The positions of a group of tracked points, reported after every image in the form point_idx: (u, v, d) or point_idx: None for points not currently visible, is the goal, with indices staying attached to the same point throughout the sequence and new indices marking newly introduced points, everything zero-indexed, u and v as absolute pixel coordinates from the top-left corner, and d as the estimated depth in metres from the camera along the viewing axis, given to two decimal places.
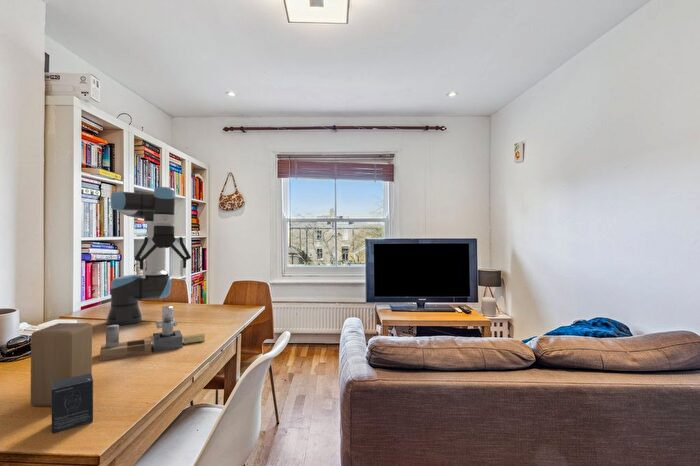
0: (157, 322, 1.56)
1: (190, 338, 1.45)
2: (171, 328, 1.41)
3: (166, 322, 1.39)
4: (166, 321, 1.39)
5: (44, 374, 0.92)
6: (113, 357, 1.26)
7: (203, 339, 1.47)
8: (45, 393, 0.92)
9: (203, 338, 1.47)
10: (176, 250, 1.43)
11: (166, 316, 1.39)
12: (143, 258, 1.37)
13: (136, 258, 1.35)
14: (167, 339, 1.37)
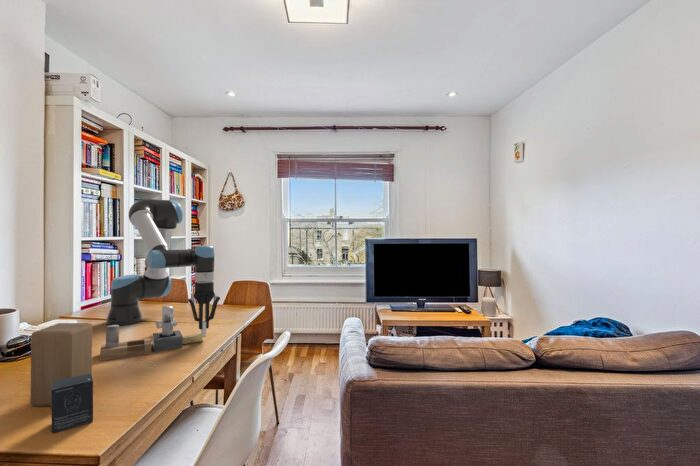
0: (157, 322, 1.56)
1: (188, 338, 1.44)
2: (171, 328, 1.41)
3: (166, 322, 1.39)
4: (166, 321, 1.39)
5: (44, 374, 0.92)
6: (113, 357, 1.26)
7: (201, 339, 1.47)
8: (45, 393, 0.92)
9: (201, 338, 1.47)
10: (207, 308, 1.48)
11: (166, 316, 1.39)
12: (201, 318, 1.47)
13: (196, 319, 1.46)
14: (167, 339, 1.37)
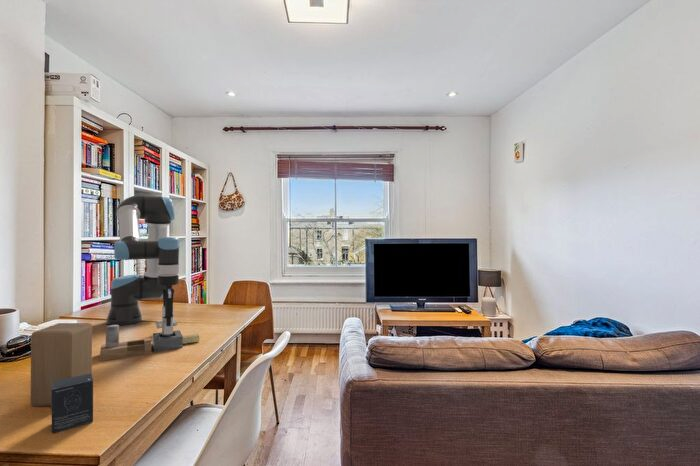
0: (157, 322, 1.56)
1: (184, 339, 1.43)
2: None
3: None
4: None
5: (44, 374, 0.92)
6: (113, 357, 1.26)
7: (197, 340, 1.46)
8: (45, 393, 0.92)
9: (197, 339, 1.46)
10: (165, 304, 1.38)
11: None
12: None
13: None
14: (167, 339, 1.37)
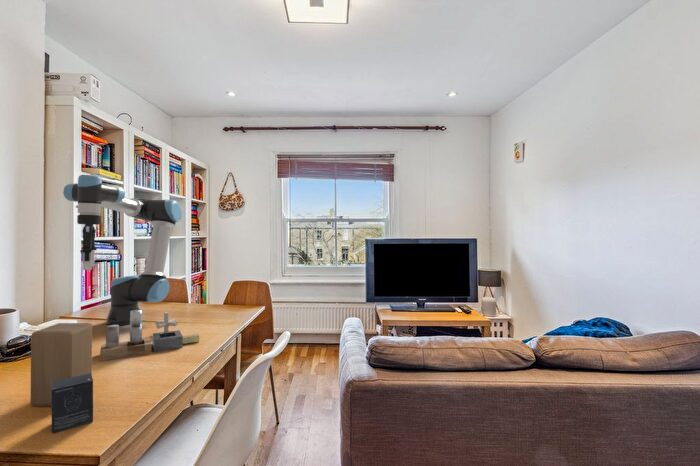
0: (157, 322, 1.56)
1: (184, 339, 1.43)
2: (140, 333, 1.33)
3: (134, 326, 1.32)
4: (134, 326, 1.32)
5: (44, 374, 0.92)
6: (113, 357, 1.26)
7: (197, 340, 1.46)
8: (45, 393, 0.92)
9: (197, 339, 1.46)
10: None
11: (134, 320, 1.32)
12: None
13: None
14: (167, 339, 1.37)
